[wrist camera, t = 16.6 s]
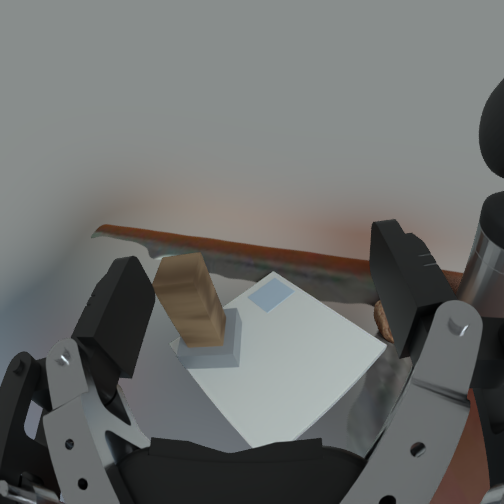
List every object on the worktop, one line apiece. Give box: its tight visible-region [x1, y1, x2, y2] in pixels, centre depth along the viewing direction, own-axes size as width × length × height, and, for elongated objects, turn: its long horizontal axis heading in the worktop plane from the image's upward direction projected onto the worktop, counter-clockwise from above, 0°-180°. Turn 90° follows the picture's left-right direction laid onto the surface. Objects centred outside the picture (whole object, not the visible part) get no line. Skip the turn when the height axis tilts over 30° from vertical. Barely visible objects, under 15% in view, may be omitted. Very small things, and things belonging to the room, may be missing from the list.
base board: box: [169, 271, 387, 448], centre depth 39 cm, size 22×24×4 cm
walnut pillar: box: [152, 252, 226, 348], centre depth 36 cm, size 5×5×12 cm
